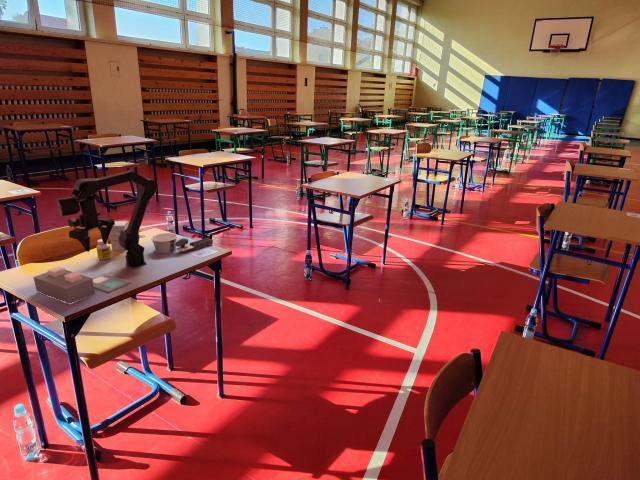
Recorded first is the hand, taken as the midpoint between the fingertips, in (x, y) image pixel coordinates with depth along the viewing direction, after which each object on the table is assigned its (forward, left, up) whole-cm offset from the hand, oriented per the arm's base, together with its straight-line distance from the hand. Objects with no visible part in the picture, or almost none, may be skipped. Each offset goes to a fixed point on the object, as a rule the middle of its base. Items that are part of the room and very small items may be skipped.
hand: (96, 247), depth 172 cm
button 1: (+17, +4, -7) cm, 19 cm away
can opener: (-44, 0, -12) cm, 46 cm away
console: (+16, +9, -12) cm, 22 cm away
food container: (-33, -8, -12) cm, 36 cm away
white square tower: (-19, -25, -12) cm, 34 cm away
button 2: (+14, +14, -7) cm, 21 cm away
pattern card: (+2, +11, -12) cm, 16 cm away
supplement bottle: (-7, -14, -12) cm, 20 cm away
